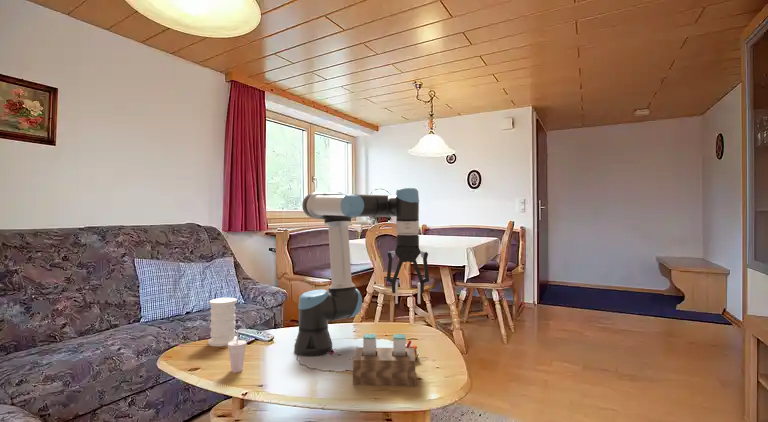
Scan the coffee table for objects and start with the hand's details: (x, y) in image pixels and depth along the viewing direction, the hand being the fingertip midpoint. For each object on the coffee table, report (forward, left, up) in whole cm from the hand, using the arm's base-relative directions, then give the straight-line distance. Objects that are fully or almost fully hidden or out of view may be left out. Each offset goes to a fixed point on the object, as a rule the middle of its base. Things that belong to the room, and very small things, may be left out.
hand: (407, 302), depth 131 cm
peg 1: (-10, -8, -19) cm, 23 cm away
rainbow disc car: (-12, +13, -25) cm, 31 cm away
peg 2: (-2, -2, -19) cm, 19 cm away
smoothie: (-49, -35, -25) cm, 65 cm away
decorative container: (-83, -24, -25) cm, 90 cm away
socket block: (-6, -5, -25) cm, 26 cm away
